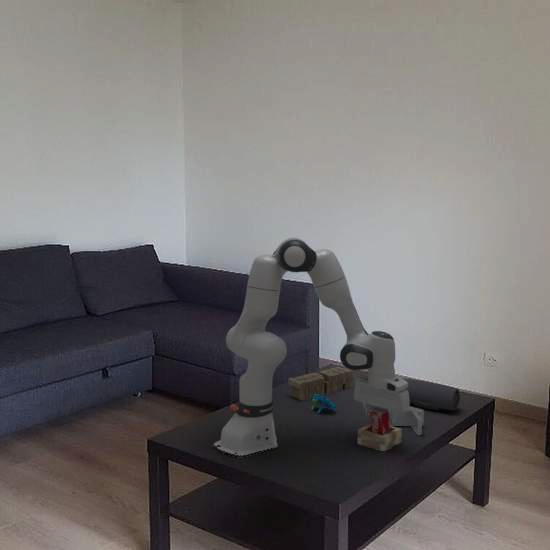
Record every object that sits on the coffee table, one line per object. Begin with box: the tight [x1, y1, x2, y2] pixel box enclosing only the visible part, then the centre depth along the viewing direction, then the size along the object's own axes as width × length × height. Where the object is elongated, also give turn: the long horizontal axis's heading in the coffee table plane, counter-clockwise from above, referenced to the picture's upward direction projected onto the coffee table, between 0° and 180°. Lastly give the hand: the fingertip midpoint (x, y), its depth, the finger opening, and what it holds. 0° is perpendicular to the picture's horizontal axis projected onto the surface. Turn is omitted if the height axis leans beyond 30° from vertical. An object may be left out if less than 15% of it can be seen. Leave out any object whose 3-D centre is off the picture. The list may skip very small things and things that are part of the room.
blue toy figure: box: [310, 394, 338, 415], centre depth 275 cm, size 11×6×10 cm
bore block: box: [357, 423, 403, 452], centre depth 246 cm, size 11×11×5 cm
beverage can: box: [370, 406, 390, 435], centre depth 245 cm, size 6×6×12 cm
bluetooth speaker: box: [402, 378, 461, 411], centre depth 280 cm, size 23×9×10 cm, turn 56°
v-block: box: [388, 405, 425, 436], centre depth 259 cm, size 10×15×6 cm, turn 48°
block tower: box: [287, 366, 354, 401], centre depth 298 cm, size 8×8×29 cm
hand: (380, 419), depth 245 cm, fingers open, 8 cm apart
